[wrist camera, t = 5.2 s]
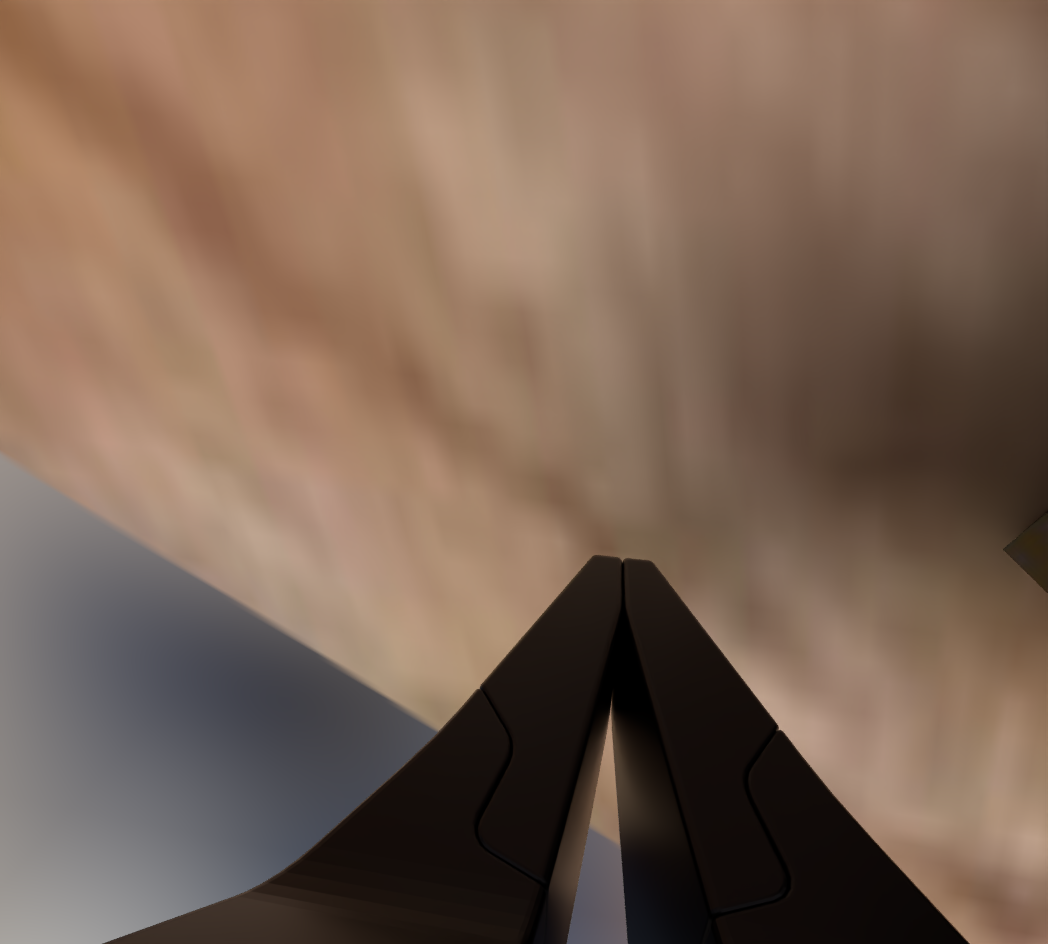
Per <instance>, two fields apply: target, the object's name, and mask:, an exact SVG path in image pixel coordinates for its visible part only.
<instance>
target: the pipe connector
mask: <svg viewBox="0 0 1048 944" xmlns="http://www.w3.org/2000/svg"><path fill="white" fill-rule="evenodd" d="M1003 550H1004V551H1005V552H1006V553H1007V554H1008V555H1009V556H1010V557H1011V558H1012V559H1013V560H1014V561H1015V562H1016V563H1017V564H1018V565H1020V566H1021V567H1022V568H1023V569H1024V570H1025V571H1026V572H1027V573H1028V574H1029V575H1030V576H1031V577H1032V578H1033V579H1034V580H1035V581H1036V582H1037V583H1038V584H1039V585H1040V586H1041V587H1042V588H1043V589H1044V590H1045V591H1046V592H1047V593H1048V512H1047V513H1046V514H1044V515H1043V516H1042V517H1041V518H1040V519H1038V520H1037V521H1036V522H1035V523H1034V524H1032V525H1031V526H1030V527H1029V528H1028V529H1026V530H1025V531H1024V532H1023V533H1022V534H1020V535H1019V536H1018V537H1017V538H1016V539H1014V540H1013V541H1012V542H1011V543H1010V544H1008V545H1007V546H1006V547H1005V548H1004V549H1003Z"/></svg>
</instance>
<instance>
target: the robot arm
mask: <svg viewBox="0 0 1048 944" xmlns="http://www.w3.org/2000/svg"><path fill="white" fill-rule="evenodd" d="M611 700H612V708H611ZM610 708H611V716H612V735H613V749H614V763H615V776H616V790H617V804H618V818H619V831H620V845H621V859H622V872H623V886H624V899H625V913H626V925H627V941H628V944H969V942H968V941H967V940H966V939H965V938H964V937H963V936H962V935H961V934H960V933H959V932H958V931H957V930H956V928H955V927H954V926H953V925H952V924H951V923H950V922H949V921H948V920H947V919H946V918H945V917H944V916H943V914H942V913H941V912H940V911H939V910H938V909H937V908H936V907H935V906H934V905H933V904H932V903H931V901H930V900H929V899H928V898H927V897H926V896H925V895H924V894H923V893H922V892H921V891H920V890H919V889H918V887H917V886H916V885H915V884H914V883H913V882H912V881H911V880H910V879H909V878H908V877H907V876H906V875H905V873H904V872H903V871H902V870H901V869H900V868H899V867H898V866H897V865H896V864H895V863H894V862H893V860H892V859H891V858H890V857H889V856H888V855H887V854H886V853H885V852H884V851H883V850H882V849H881V848H880V846H879V845H878V844H877V843H876V842H875V841H874V840H873V839H872V838H871V837H870V835H869V834H868V833H867V832H866V831H865V830H864V829H863V828H862V826H861V825H860V824H859V823H858V822H857V821H856V820H855V819H854V817H853V816H852V815H851V814H850V813H849V812H848V811H847V810H846V808H845V807H844V806H843V805H842V804H841V803H840V802H839V801H838V799H837V798H836V797H835V796H834V795H833V794H832V793H831V791H830V790H829V789H828V788H827V786H826V785H825V784H824V783H823V781H822V780H821V779H820V778H819V776H818V775H817V774H816V773H815V772H814V770H813V769H812V768H811V767H810V765H809V764H808V763H807V762H806V760H805V759H804V758H803V757H802V755H801V754H800V753H799V752H798V750H797V749H796V748H795V746H794V745H793V744H792V742H791V741H790V740H789V739H788V737H787V736H786V735H785V733H784V732H783V731H781V730H779V727H778V725H777V723H776V722H775V721H774V719H773V718H772V717H771V716H770V714H769V713H768V712H767V710H766V709H765V708H764V706H763V705H762V704H761V702H760V701H759V700H758V699H757V697H756V696H755V695H754V693H753V692H752V691H751V689H750V688H749V687H748V686H747V684H746V683H745V682H744V680H743V679H742V678H741V676H740V675H739V674H738V672H737V671H736V670H735V669H734V667H733V666H732V665H731V663H730V662H729V661H728V659H727V658H726V657H725V656H724V654H723V653H722V652H721V650H720V649H719V648H718V646H717V645H716V644H715V643H714V641H713V640H712V639H711V637H710V636H709V635H708V633H707V632H706V631H705V629H704V628H703V627H702V626H701V624H700V623H699V622H698V620H697V619H696V618H695V616H694V615H693V614H692V613H691V611H690V610H689V609H688V607H687V606H686V605H685V603H684V602H683V601H682V600H681V598H680V597H679V596H678V594H677V593H676V592H675V590H674V589H673V588H672V586H671V585H670V584H669V583H668V581H667V580H666V579H665V577H664V576H663V575H662V573H661V572H660V571H659V570H658V568H657V567H656V566H655V564H654V563H653V562H651V561H649V560H640V559H630V558H626V559H624V560H623V562H622V561H621V559H620V558H618V557H611V556H601V555H594V556H593V557H592V558H591V559H590V560H589V561H588V562H587V563H586V564H585V565H584V567H583V568H582V569H581V570H580V571H579V572H578V574H577V575H576V576H575V577H574V578H573V579H572V580H571V582H570V583H569V584H568V585H567V586H566V587H565V589H564V590H563V591H562V592H561V593H560V594H559V595H558V597H557V598H556V599H555V600H554V601H553V602H552V604H551V605H550V606H549V607H548V608H547V609H546V610H545V612H544V613H543V614H542V615H541V616H540V617H539V619H538V620H537V621H536V622H535V623H534V624H533V625H532V627H531V628H530V629H529V630H528V631H527V632H526V634H525V635H524V636H523V637H522V638H521V639H520V640H519V642H518V643H517V644H516V645H515V646H514V647H513V649H512V650H511V651H510V652H509V653H508V654H507V655H506V657H505V658H504V659H503V660H502V661H501V662H500V664H499V665H498V666H497V667H496V668H495V669H494V670H493V672H492V673H491V674H490V675H489V676H488V677H487V679H486V680H485V681H484V682H483V683H482V684H481V686H480V689H477V690H476V691H475V692H474V693H473V694H472V695H471V697H470V698H469V699H468V700H467V701H466V702H465V704H464V705H463V706H462V707H461V708H460V709H459V710H458V712H457V713H456V714H455V715H454V716H453V717H452V718H451V719H450V720H449V721H448V722H447V723H446V724H445V725H444V727H443V728H442V729H441V730H440V731H439V732H438V733H437V734H436V735H435V736H434V737H433V738H432V739H431V740H430V741H429V742H428V743H427V744H426V745H425V746H424V747H423V748H422V749H420V750H419V751H418V752H417V753H416V754H415V755H414V756H413V757H412V758H411V759H410V760H409V761H408V762H407V763H406V764H404V765H403V766H402V767H401V768H400V769H399V770H398V771H397V772H396V773H395V774H393V775H392V776H391V777H390V778H389V779H388V780H387V781H386V782H385V783H383V784H382V785H381V786H380V787H379V788H378V789H377V790H376V791H375V792H373V793H372V794H371V795H370V796H369V797H368V798H367V799H366V800H364V801H363V802H362V803H361V804H360V805H359V806H358V807H357V808H355V809H354V810H353V811H352V812H351V813H350V814H349V815H348V816H347V817H345V818H344V819H343V820H342V821H341V822H340V823H339V824H338V825H336V826H335V827H334V828H333V829H332V830H331V831H330V832H329V833H327V834H326V835H325V836H324V837H323V838H322V839H321V840H320V841H319V842H317V843H316V844H315V845H314V846H313V847H312V848H311V849H309V850H308V851H307V852H306V853H305V854H303V855H302V856H301V857H300V858H299V859H297V860H296V861H295V862H293V863H292V864H291V865H289V866H288V867H286V868H285V869H284V870H282V871H281V872H279V873H278V874H276V875H275V876H273V877H271V878H270V879H268V880H267V881H265V882H263V883H262V884H260V885H258V886H256V887H254V888H252V889H250V890H248V891H246V892H244V893H241V894H239V895H236V896H234V897H231V898H228V899H225V900H223V901H220V902H217V903H214V904H211V905H209V906H206V907H203V908H200V909H197V910H195V911H192V912H189V913H186V914H184V915H181V916H178V917H175V918H172V919H170V920H167V921H164V922H161V923H159V924H156V925H153V926H150V927H147V928H145V929H142V930H139V931H136V932H134V933H131V934H128V935H125V936H123V937H120V938H117V939H114V940H111V941H109V942H106V943H103V944H567V939H568V934H569V929H570V924H571V918H572V913H573V908H574V902H575V897H576V892H577V887H578V881H579V876H580V871H581V866H582V860H583V855H584V850H585V844H586V839H587V834H588V829H589V823H590V818H591V813H592V808H593V802H594V797H595V792H596V786H597V781H598V776H599V771H600V765H601V760H602V755H603V750H604V744H605V739H606V734H607V728H608V722H609V716H610Z"/></svg>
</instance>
